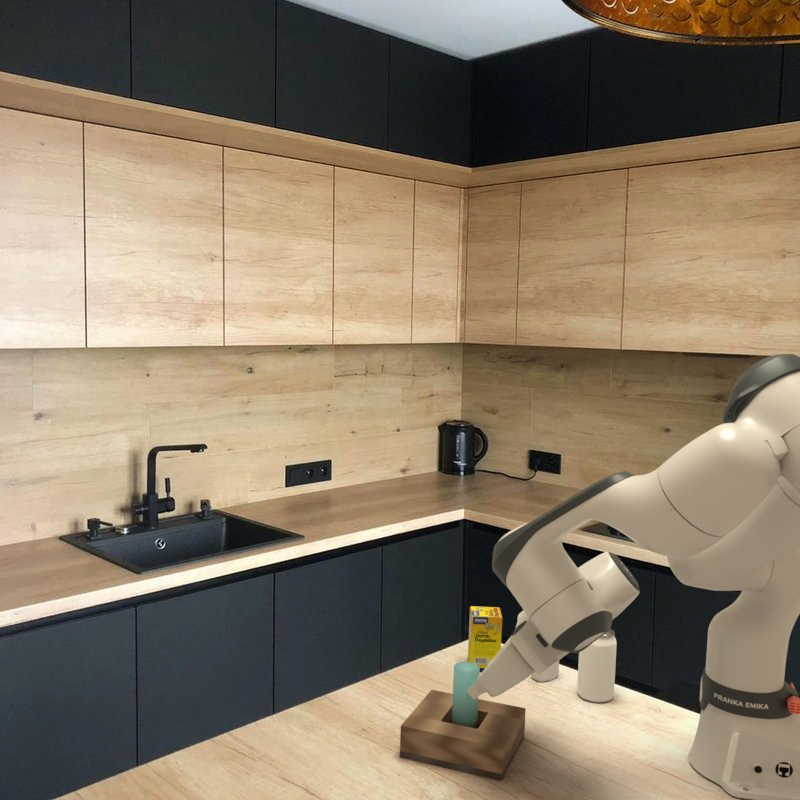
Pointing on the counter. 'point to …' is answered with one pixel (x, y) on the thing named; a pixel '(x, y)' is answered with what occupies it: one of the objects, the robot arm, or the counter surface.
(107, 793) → the counter surface
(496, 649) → the supplement box
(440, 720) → the walnut holder
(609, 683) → the can
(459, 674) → the teal pin
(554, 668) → the eye dropper bottle
